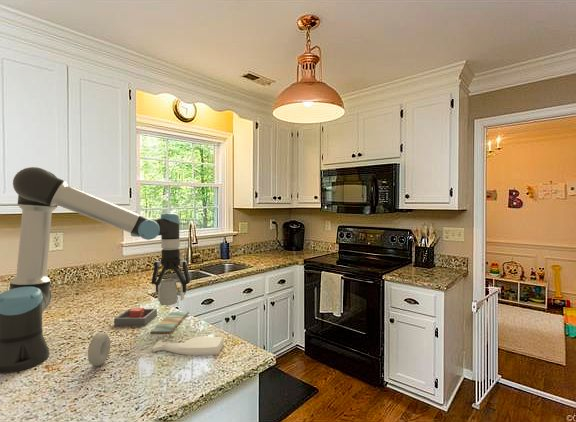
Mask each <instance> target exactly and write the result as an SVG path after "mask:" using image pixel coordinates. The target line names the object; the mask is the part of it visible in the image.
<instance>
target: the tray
mask: <svg viewBox="0 0 576 422" xmlns="http://www.w3.org/2000/svg"><path fill="white" fill-rule="evenodd" d="M132 309H133V308H128V309H127V310H125V311H124V312H122V313H120V314H119V315H117V316H116V317H115V318H114V319H113V326H114V327H120V326H121V327H127V326H128V327H129V326H130V327H137V326H140V327H142V326H143V327H144V326H147V324H149V322H151V321H152V320H153V319H155V318H156V317H157V315H158V308H144V318H129V311H130V310H132Z"/></svg>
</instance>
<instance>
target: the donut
mask: <svg viewBox="0 0 576 422" xmlns="http://www.w3.org/2000/svg"><path fill="white" fill-rule="evenodd" d="M110 351H111V339H110V336H109V335H108V334H107V333H106V332H105V333H104V332H100V333H96V334H95V335H94V336H93V337H92V339H91V341H90V342H89V346H88V350H87V359H88V362H89V364H90V365H91V366H93V367H99V366H102V365H103V364H104V363H105V362H106V361H107V359H108V357H109V354H110Z"/></svg>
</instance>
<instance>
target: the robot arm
mask: <svg viewBox="0 0 576 422" xmlns="http://www.w3.org/2000/svg"><path fill="white" fill-rule="evenodd" d="M12 188H13V190H14V191H15V193H16V194H17V195H18V197H17V206H18V207H19V208H20V209H21V210H22V212H21V223H20V233H19V243H18V256H17V265H16V276H15V277H14V278H13V279H11V280H10V283H9V290H5V291H3V292H1V293H0V374H10V373H15V372H16V373H17V372H20V371H24V370H27V369H29V368H33V367H35V366H38V365H40V364H42V363H43V362H45V361H46V360H47V359H48V358H49V357H50V348H49V346H48V344H47V342H46V340H45V336H44V335H43V314H44V312H45V310H46V309H47V308H48V306H49V304H50V303H51V300H52V293H51V282H52V281H51V278H50V277H48V275H47V271H48V270H47V269H48V260H49V247H50V239H51V238H50V235H51V225H52V214H53V212H54V211H55V210H56V209H57V208H58V207H60V208H64V209H67V210H69V211H70V212H71V211H72V212H74V213H77V214H79V215H82V216H85V217H87V218H89V219H93V220H96V221H98V222H101V223H104V224H106V225H109V226H112V227H114V228H116V229H119V230H121V231H124V232H128V233H130V236H131V237H134V238H135V237H136V238H137V237H138V238H139V237H140V238H141V239H144V240H147V241H149V240H153V239H156V238H157V237H158V236H161V238H160V239H161V241H160V243H161V245H160V246H161V247H160V248H161V255H160V256H161V259H160V260H156V261H154V263H153V265H154V269H153V272H152V277H151V282H150V283H151V285H154V286H155V293H157V301H158V302H159V299H160V285H161V280H164V277H165V275H166V272H167V271H169V270H170V271H174V272H175V273H176V275H177V278H178V279H180V281H181V283H182V285H181V283H180V286H179V289H180V291H179V292H180V294H181V296H180V301H183V300H184V299H185V295H184V292H187V288H186V286H187V285H189V284H190V283H191V277H190V274H189V269H188V260H181V255H180V254H181V253H180V251H181V250H180V244H181V243H180V240H181V239H180V215H179V214H178V213H173V212H172V213H170V212H169V213H167V212H166V213H165V212H164V213H161V214H160V217H156V218H153V217H149V218H148V217H146V216H143V215H141V214H138V213H136V212H134V211H131V210H129V209H126V208H124V207H121V206H119V205H117V204H114V203H111V202H109V201H107V200H104V199H102V198H99V197H97V196H94V195H93V194H90V193H88V192H85V191H83V190H81V189H79V188H78V189H77V188H75V187H73V186H70V185H68V183H67V181H65V180H63V179H61V178H58V177H57V176H56V175H55V174H54V173H52V172H51V171H48V170H46V169H43V168H41V167H37V166H34V167H33V166H32V167H30V166H29V167H25V168H23V169H21V170H19V171H18V172H17V173H16V174H15V175H14V177H13V179H12ZM180 265H181V267H182V270H183V273H182V271H181V269H180ZM160 266H162V269H161V272H160V274H159V270H160ZM182 274H183V275H182ZM158 275H159V276H158Z"/></svg>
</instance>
